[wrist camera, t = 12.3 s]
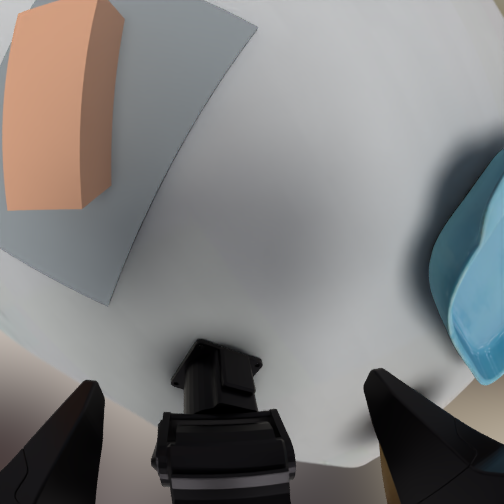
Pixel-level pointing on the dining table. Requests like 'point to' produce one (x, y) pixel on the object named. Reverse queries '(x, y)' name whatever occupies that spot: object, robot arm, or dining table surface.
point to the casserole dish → (474, 275)
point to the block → (60, 104)
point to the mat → (130, 139)
